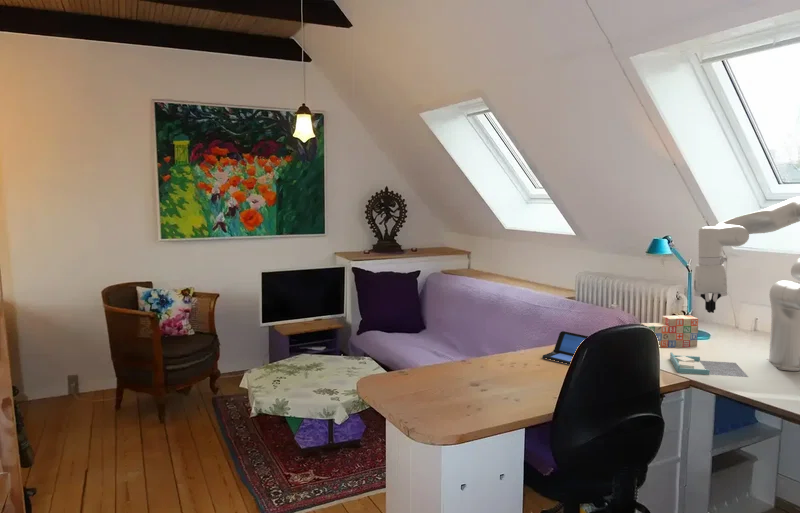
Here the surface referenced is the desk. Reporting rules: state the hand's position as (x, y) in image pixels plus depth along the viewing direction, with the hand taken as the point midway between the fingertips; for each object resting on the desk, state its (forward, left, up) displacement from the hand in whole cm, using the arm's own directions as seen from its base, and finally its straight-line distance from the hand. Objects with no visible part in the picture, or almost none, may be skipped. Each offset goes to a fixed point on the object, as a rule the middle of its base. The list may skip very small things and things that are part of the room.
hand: (710, 311), depth 210 cm
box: (+7, +3, -21) cm, 22 cm away
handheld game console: (+49, -2, -22) cm, 54 cm away
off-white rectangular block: (+8, +6, -21) cm, 23 cm away
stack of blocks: (+9, -32, -22) cm, 40 cm away
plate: (-4, +3, -21) cm, 22 cm away
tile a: (+8, -1, -21) cm, 22 cm away
